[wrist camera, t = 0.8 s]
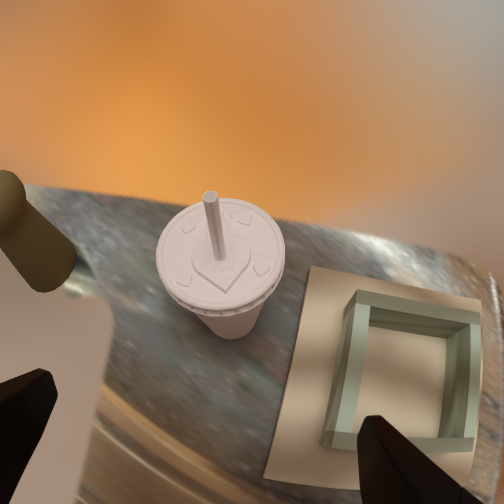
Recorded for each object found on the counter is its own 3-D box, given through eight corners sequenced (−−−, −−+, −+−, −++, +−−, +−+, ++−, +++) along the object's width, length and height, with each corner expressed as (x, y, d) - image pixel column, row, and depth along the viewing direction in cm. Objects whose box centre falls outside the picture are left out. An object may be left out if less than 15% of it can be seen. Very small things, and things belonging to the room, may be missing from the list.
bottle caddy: (460, 484, 16) (494, 488, 12) (262, 475, 18) (265, 487, 14) (475, 305, 24) (503, 282, 20) (308, 271, 26) (318, 240, 22)
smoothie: (193, 362, 22) (120, 273, 10) (185, 283, 25) (133, 145, 13) (282, 349, 22) (316, 246, 10) (266, 271, 26) (276, 125, 14)
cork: (80, 277, 25) (13, 197, 16) (29, 302, 24) (-47, 236, 15) (71, 227, 28) (18, 146, 19) (24, 251, 27) (-36, 181, 17)
